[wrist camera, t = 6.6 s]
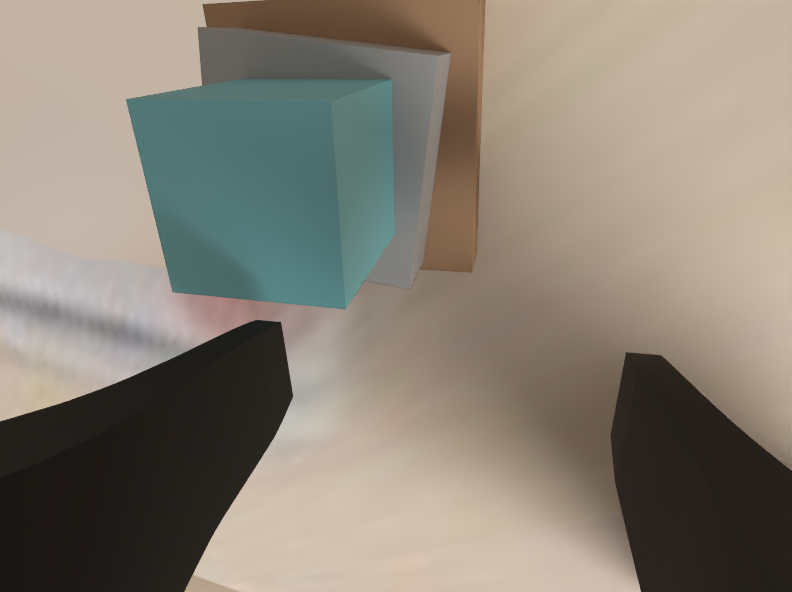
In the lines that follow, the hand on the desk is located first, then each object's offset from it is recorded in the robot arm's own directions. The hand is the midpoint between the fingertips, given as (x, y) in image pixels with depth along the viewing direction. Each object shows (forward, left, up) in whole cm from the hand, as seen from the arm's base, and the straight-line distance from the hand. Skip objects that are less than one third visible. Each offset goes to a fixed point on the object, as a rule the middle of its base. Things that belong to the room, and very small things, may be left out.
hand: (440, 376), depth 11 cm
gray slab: (+3, +5, -9) cm, 10 cm away
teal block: (+3, +5, -6) cm, 8 cm away
